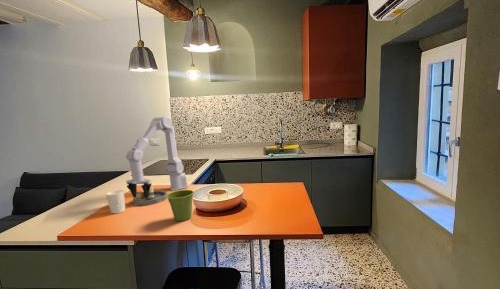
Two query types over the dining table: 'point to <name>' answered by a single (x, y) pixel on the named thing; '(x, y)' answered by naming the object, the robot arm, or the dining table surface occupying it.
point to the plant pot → (181, 204)
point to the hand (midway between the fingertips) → (141, 196)
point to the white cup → (116, 201)
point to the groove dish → (157, 198)
